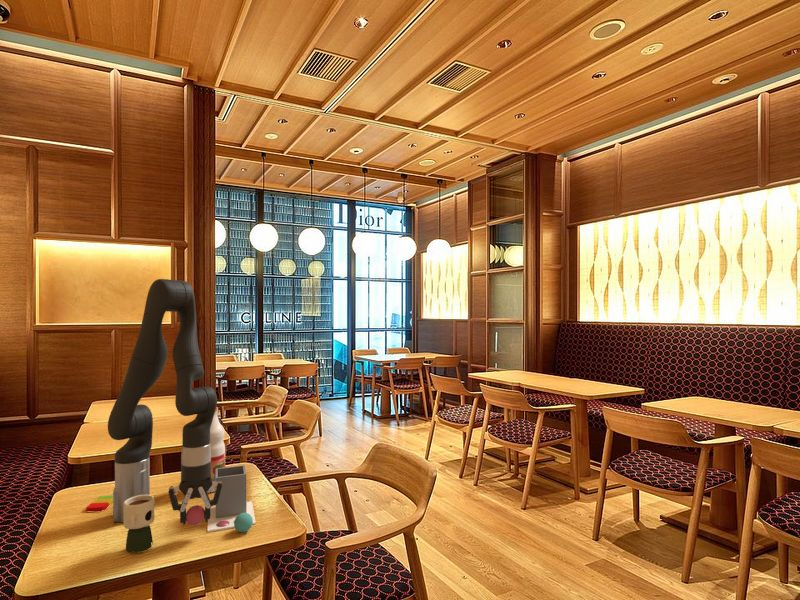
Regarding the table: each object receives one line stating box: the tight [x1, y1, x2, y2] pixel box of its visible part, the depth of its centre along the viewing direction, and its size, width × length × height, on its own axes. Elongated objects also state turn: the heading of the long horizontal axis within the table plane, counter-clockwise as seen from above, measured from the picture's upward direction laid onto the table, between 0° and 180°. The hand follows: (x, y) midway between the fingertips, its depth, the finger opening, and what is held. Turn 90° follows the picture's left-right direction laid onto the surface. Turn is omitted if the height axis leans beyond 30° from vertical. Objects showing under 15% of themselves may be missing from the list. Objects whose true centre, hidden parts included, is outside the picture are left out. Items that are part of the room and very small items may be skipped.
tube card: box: [207, 464, 257, 533], centre depth 142 cm, size 13×16×12 cm
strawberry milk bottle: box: [207, 406, 226, 494], centre depth 164 cm, size 9×9×28 cm
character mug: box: [123, 494, 155, 553], centre depth 123 cm, size 11×7×13 cm, turn 12°
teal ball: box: [234, 513, 253, 533], centre depth 133 cm, size 5×5×5 cm
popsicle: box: [85, 492, 113, 512], centre depth 153 cm, size 6×15×2 cm, turn 8°
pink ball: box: [186, 504, 205, 526], centre depth 129 cm, size 5×5×5 cm
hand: (195, 521), depth 129 cm, fingers closed on pink ball, 5 cm apart
